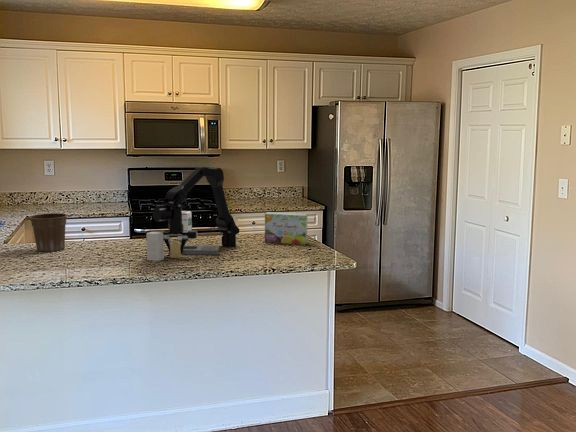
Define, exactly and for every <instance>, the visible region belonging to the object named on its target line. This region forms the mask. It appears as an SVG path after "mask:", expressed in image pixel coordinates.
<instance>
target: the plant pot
mask: <svg viewBox="0 0 576 432" xmlns="http://www.w3.org/2000/svg"><path fill="white" fill-rule="evenodd" d="M67 217H68V214H66V213H61V212H59V213H58V212H57V213H55V212H52V213H38V214H34V215H30V216H29V219H30V222H31V227H32V229H33V234H34V240H35V247H36V251H37V252H39V253H40V252H41V253H42V252H43V253H54V252H59V251H61V250H64V249H65V247H66V246H65V245H66V243H65V242H66V224H67Z"/></svg>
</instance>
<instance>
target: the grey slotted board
mask: <svg viewBox="0 0 576 432" xmlns="http://www.w3.org/2000/svg"><path fill="white" fill-rule="evenodd" d="M220 248H221V247H220V244H219V245H216V244H215V245H210V244H209V245H208V244H207V245H203V244H202V245H201V244H200V245H197V244H196V245H193V244H192V245H191V244H190V245H187V244H185V246H184V249H183V252H182V256H183V255H190V256H191V255H193V256H194V255H199V256H200V255H201V256H202V255H203V256H207V255H214V256H216V255H217V256H218V254H219V253H220V250H221V249H220ZM168 255H169V256H170V252H169V251H168Z"/></svg>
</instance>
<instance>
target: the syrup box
mask: <svg viewBox="0 0 576 432" xmlns="http://www.w3.org/2000/svg"><path fill="white" fill-rule="evenodd" d="M192 218H193V217H192V211H190V210H182V224H183V225H184V230H183V232H188V231H189V230H193V221H192V220H193V219H192ZM182 238H183V236H177V241H182ZM189 240H191V239H189ZM189 240H188V241H189Z"/></svg>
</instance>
